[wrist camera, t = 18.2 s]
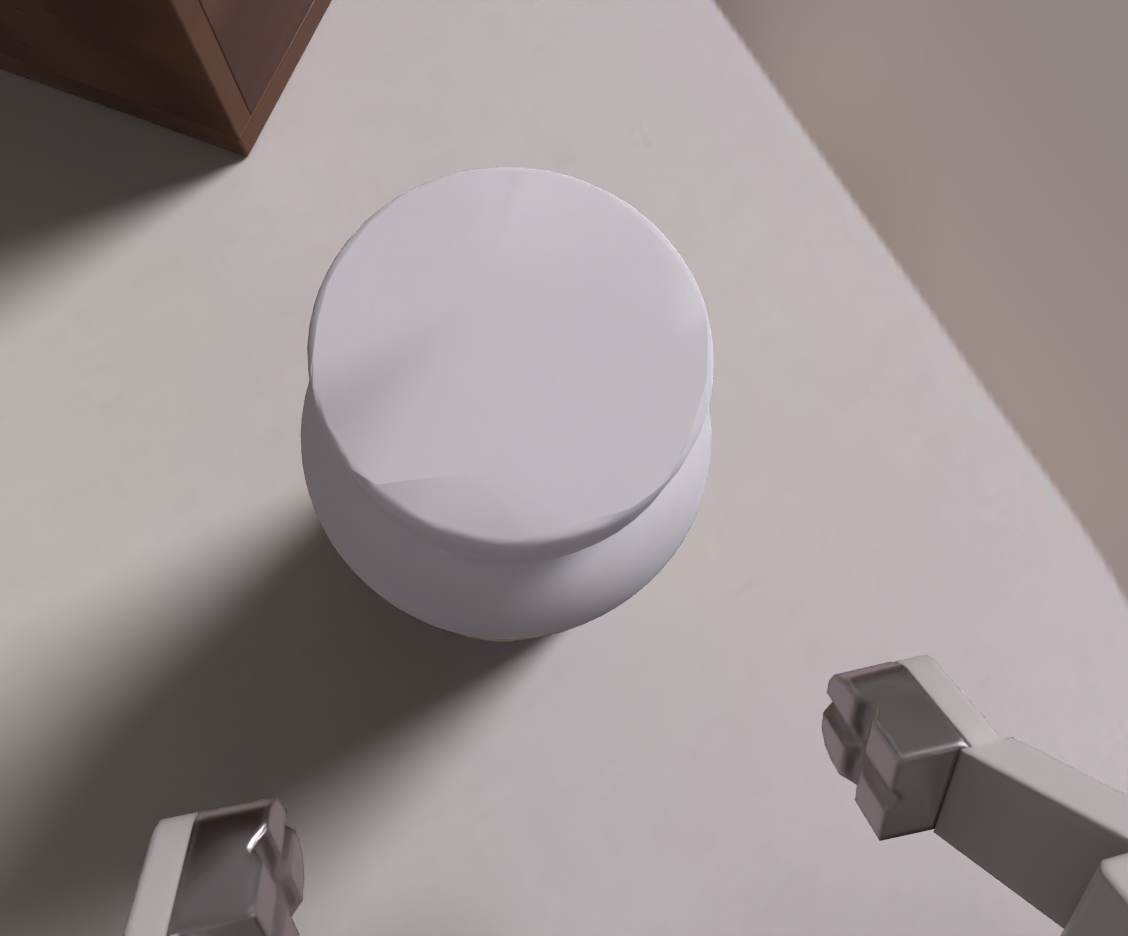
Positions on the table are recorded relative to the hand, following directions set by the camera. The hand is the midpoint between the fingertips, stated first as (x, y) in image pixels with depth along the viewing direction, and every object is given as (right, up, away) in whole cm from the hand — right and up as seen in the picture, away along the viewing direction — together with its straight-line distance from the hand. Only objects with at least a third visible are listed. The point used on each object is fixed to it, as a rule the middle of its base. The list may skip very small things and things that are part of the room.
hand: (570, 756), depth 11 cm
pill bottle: (-2, +3, +9) cm, 10 cm away
